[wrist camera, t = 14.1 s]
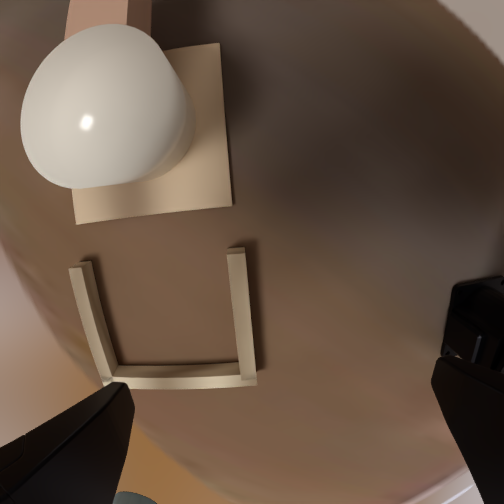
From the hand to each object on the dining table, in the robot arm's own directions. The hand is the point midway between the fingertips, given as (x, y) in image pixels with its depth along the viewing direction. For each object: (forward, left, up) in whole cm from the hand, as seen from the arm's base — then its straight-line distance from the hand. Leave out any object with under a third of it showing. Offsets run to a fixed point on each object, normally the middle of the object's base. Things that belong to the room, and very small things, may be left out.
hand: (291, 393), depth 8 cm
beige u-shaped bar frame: (+6, +2, -12) cm, 13 cm away
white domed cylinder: (+6, -11, -11) cm, 17 cm away
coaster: (+6, -9, -12) cm, 16 cm away
